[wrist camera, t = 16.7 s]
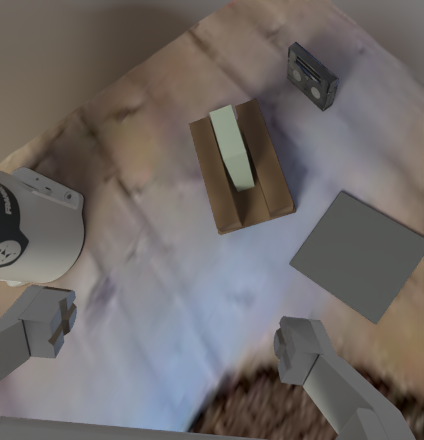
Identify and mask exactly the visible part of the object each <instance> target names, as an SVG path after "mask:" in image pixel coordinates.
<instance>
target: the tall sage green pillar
mask: <svg viewBox="0 0 424 440" xmlns="http://www.w3.org/2000/svg"><path fill="white" fill-rule="evenodd" d="M210 116H211V120H212V123H213V126H214V130H215V133H216V137H217V140H218V143H219V147H220V150H221V154H222V157H223V160H224V162H225V165H226V167H227V169H228V171H229V174H230V176H231V178H232V180H233V182H234V185H235V187H236V189H237V191H238V192H240V191H243V190H246V189H249V188H252V187H255V186H254V182H253V178H252V174H251V170H250V166H249V162H248V157H247V153H246V150H245V147H244V144H243V141H242V138H241V134H240V131H239V128H238V125H237V122H236V119H235V116H234V113H233V110H232V107H231V105H228V106H226V107H223V108H220V109H218V110H215V111H212V112H210Z"/></svg>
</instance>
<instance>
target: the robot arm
mask: <svg viewBox="0 0 424 440" xmlns="http://www.w3.org/2000/svg"><path fill="white" fill-rule="evenodd" d="M70 197H71V198H70ZM82 208H83V196H82V194H80V193H78V192H76V191H74V190H72V189H70V188H68V187H66V186H64V185H62V184H60V183H58V182H56V181H54V180H52V179H49V178H47V177H45V176H43V175H41V174H39V173H37V172H35V171H33V170H31V169H28V168H26V167H21V168H19V169H17V170H15V171H14V172H12V173H11V174H8V173H5V172H3V171H0V280H2V281H6V282H7V284H8V285H9V286H14V287H18V286H21V285H24V284H26V283H29V282H35V283H45V282H50V281H53V280H55V279H57V278H59V277H60V276H62V275H63V274H65V273H66V272H67V271H68V270H69V269H70V268H71V266H72V265H73V264H74V262H75V261H76V259H77V257H78V255H79V253H80V251H81V248H82V244H83V239H84V225H83V220H82ZM75 298H76V296H75V291H73V290H68V289H61V288H54V287H48V286H39V285H31V286H29V287H28V288H27V289H26V290H25V291H24V292H23V293H22V294H21V296H20V297H19V298H18V299H17V300H16V301H15V302H14V304H13V305H12V306H11V307H10V308H9V309H8V310H7V312H6V313H5V314H4V315H3V316H2V317H1V318H0V381H1V380H2V379H3V378H4V377H6V376H7V375H8V374H10V373H11V372H12V371H14V370H15V369H16V368H18V367H19V366H20V365H21V364H23V363H24V362H25V361H27V360H28V359H29V358H30V357H43V358H56V356H57V354H58V353H59V351H60V349H61V347H62V345H63V344H64V335H66V334H67V333H69V332H70V331H71V329H72V327H73V325H74V322H75V319H76V314H77V307H76V306H75V304H74V303H73V302H74V300H75ZM280 327H281V328H279V329H278V330H276V333H275V336H274V352H275V355H276V357H277V358H278V359H279V360H280V361H279V364H278V370H279V374H280V378H281V382H282V383H290V384H297V385H303V387H304V389H305V390H306V391H307V393H308V394H309V396H310V397H311V398H312V400H313V401H314V402H315V404H316V405H317V406H318V408H319V409H320V411H321V412H322V413H323V415H324V416H325V417H326V419H327V420H328V421H329V423H330V424H331V425H332V427H333V428H334V430H335V431H336V432H337V434H338V436H337V438H336V439H335V440H416V439H415V437H414V436H413V434H412V432H411V430H410V428H409V427H408V425H407V423H406V421H405V419H404V418H403V416H402V414H401V412H400V411H399V410H398V409H397V408H396V407H395V406H394V405H393V404H392V403H391V402H389V401H388V400H387V399H386V398H385V397H384V396H383V395H382V394H381V393H380V392H379V391H377V390H376V389H375V388H374V387H373V386H372V385H371V384H370V383H369V382H368V381H367V380H366V379H364V378H363V377H362V376H361V375H360V374H359V373H358V372H357V371H356V370H355V369H354V368H352V367H351V366H350V365H349V364H348V363H347V362H346V361H345V360H344V359H343V358H342V357H338V356H337V355H336V352H335V350H334V348H333V346H332V343H331V341H330V339H329V337H328V335H327V332H326V330H325V328H324V326H323V323H322V322H321V321H320V320H312V319H303V318H294V317H286V316H283V317H282V318H281V320H280ZM0 440H264V439H253V438H242V437H231V436H219V435H208V434H197V433H186V432H175V431H163V430H152V429H140V428H129V427H118V426H106V425H95V424H84V423H73V422H61V421H50V420H39V419H28V418H17V417H5V416H0Z"/></svg>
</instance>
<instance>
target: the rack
mask: <svg viewBox="0 0 424 440" xmlns="http://www.w3.org/2000/svg"><path fill="white" fill-rule="evenodd" d="M235 107H236V111H237V115H238V121H236V122H237V125H238V128H239V131H240V134H241V138H242V141H243V144H244V147H245V150H246V153H247V157H248V162H249V166H250V170H251V174H252V178H253V182H254V186H255V187H252V188H249V189H246V190H243V191H240V192H238V191H237V189H236V187H235V185H234V182H233V180H232V178H231V176H230V174H229V171H228V169H227V167H226V165H225V162H224V160H223V157H222V154H221V150H220V147H219V143H218V140H217V137H216V133H215V130H214V128H213V126H212V124H211V121H210V119H209V117H206V118H203V119H201V120H198V121H195V122H193V123H190V124H189V126H190V130H191V133H192V137H193V141H194V145H195V148H196V152H197V156H198V160H199V163H200V167H201V171H202V175H203V178H204V182H205V186H206V190H207V193H208V197H209V201H210V204H211V208H212V212H213V216H214V219H215V223H216V227H217V229H218V233H219V234H220V235H222V234H226V233H229V232H232V231H235V230H239V229H242V228H245V227H249V226H252V225H255V224H259V223H262V222H265V221H268V220H272V219H275V218H278V217H282V216H285V215H288V214H291V213H295V212H296V209H295V206H294V203H293V200H292V198H291V195H290V192H289V189H288V186H287V184H286V181H285V178H284V175H283V172H282V170H281V167H280V164H279V161H278V158H277V156H276V153H275V150H274V147H273V144H272V142H271V139H270V136H269V133H268V130H267V128H266V125H265V122H264V119H263V116H262V114H261V111H260V108H259V106H258V103H257V100H256V99H253V100H251V101H248V102H245V103H243V104H240V105H238V106H235Z"/></svg>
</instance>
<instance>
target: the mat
mask: <svg viewBox="0 0 424 440" xmlns="http://www.w3.org/2000/svg"><path fill="white" fill-rule="evenodd" d="M423 256H424V238H423V237H421V236H419V235H417V234H416V233H414V232H412V231H410V230H409V229H407V228H405V227H403V226H401V225H400V224H398V223H396V222H394V221H393V220H391V219H389V218H387V217H385V216H384V215H382V214H380V213H378V212H377V211H375V210H373V209H371V208H370V207H368V206H366V205H364V204H362V203H361V202H359V201H357V200H355V199H354V198H352V197H350V196H348V195H346V194H345V193H343V192H340V194H339V195H338V196H337V198H336V199H335V201H334V202H333V204H332V205H331V206H330V208H329V209H328V211H327V212H326V213H325V215H324V216H323V218H322V219H321V220H320V222H319V223H318V225H317V226H316V227H315V229H314V230H313V232H312V233H311V234H310V236H309V237H308V239H307V240H306V241H305V243H304V244H303V246H302V247H301V248H300V250H299V251H298V253H297V254H296V255H295V257H294V258H293V260H292V261H291V262H290V265H291V266H293V267H294V268H295V269H297V270H298V271H300V272H301V273H303V274H304V275H305V276H307V277H308V278H310V279H311V280H313V281H314V282H316V283H317V284H318V285H320V286H321V287H323V288H324V289H326V290H327V291H328V292H330V293H331V294H333V295H334V296H336V297H337V298H338V299H340V300H341V301H343V302H344V303H346V304H347V305H348V306H350V307H351V308H353V309H354V310H356V311H357V312H359V313H360V314H361V315H363V316H364V317H366V318H367V319H369V320H370V321H371V322H373V323H374V324H377V323H378V321H379V320H380V318H381V317H382V315H383V314H384V313H385V311H386V310H387V308H388V307H389V305H390V304H391V302H392V301H393V300H394V298H395V297H396V295H397V294H398V292H399V291H400V289H401V288H402V286H403V285H404V284H405V282H406V281H407V279H408V278H409V276H410V275H411V273H412V272H413V271H414V269H415V268H416V266H417V265H418V263H419V262H420V260H421V259H422V257H423Z"/></svg>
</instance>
